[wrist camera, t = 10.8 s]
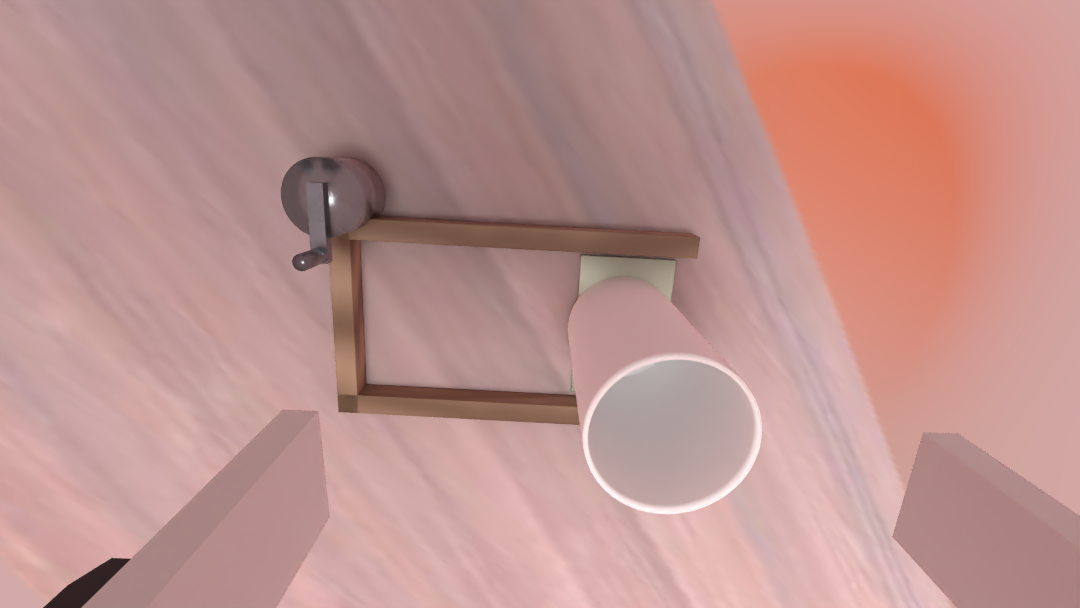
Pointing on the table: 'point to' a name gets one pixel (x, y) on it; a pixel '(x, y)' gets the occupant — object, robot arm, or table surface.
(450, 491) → the table surface
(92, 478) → the table surface
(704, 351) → the cup
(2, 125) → the table surface
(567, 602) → the table surface
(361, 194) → the winch drum
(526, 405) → the frame
